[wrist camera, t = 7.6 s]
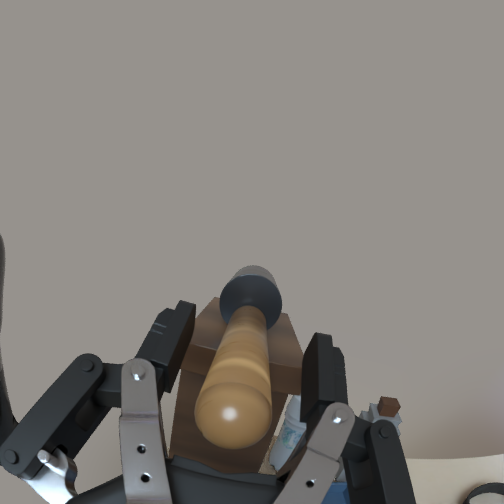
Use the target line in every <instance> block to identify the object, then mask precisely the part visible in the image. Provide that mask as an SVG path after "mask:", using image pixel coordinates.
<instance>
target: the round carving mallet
mask: <svg viewBox="0 0 504 504" xmlns="http://www.w3.org/2000/svg"><path fill="white" fill-rule="evenodd" d="M219 308H220V313H221V315H222V318H223V319H224V321H225V322H226V324H227V325H228V326H227V328H226V330H225V333H224V335H223V338H222V340H221V343H220V345H219V348H218V350H217V352H216V355H215V357H214V360H213V362H212V365H211V367H210V369H209V372H208V374H207V377H206V379H205V382H204V384H203V386H202V389H201V391H200V394H199V396H198V398H197V401H196V405H195V410H194V415H195V422H196V425H197V427H198V429H199V430H200V432H201V434H202V435H203V436H204V437H205V438H206V439H207V440H208V441H210V442H211V443H213V444H214V445H216V446H219V447H221V448H225V449H242V448H247V447H249V446H252V445H254V444H255V443H257V442H258V441H259V440H261V439H262V438H263V437H264V436H265V434H266V433H267V431H268V429H269V428H270V425H271V421H272V400H271V385H270V370H269V356H268V341H267V330H268V329H270V328H271V327H272V326H273V325H274V324H275V323H276V322H277V320H278V318H279V317H280V314H281V310H282V299H281V295H280V292H279V290H278V288H277V285H276V282H275V280H274V278H273V276H272V275H271V274H270V272H269V271H268V270H266V269H264V268H262V267H260V266H254V265H252V266H247V267H244V268H242V269H240V270H239V271H238V272H237V273H236V274H235V275H234V276H233V278H232V279H231V280H230V281H229V282H228V283H227V285H226V286H225V287H224V289H223V291H222V293H221V295H220V300H219Z"/></svg>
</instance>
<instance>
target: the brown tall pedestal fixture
mask: <svg viewBox="0 0 504 504" xmlns="http://www.w3.org/2000/svg"><path fill="white" fill-rule="evenodd" d="M219 300H220V298H217V297H214V298H213V300H212V301H211V302H210V303H209V304H208V305H207V306H206V307H205V309H204V310H203V311H202V312H201V313H200V314H199V315H198V317H197V318H196V319H195V327H194V332H193V336H192V339H191V341H190V344H189V346H188V349H187V351H186V354H185V357H184V359H183V362H182V364H181V367H180V369H181V375H180V381H179V387H178V393H177V400H176V406H175V413H174V420H173V427H172V434H171V442H170V450H169V458H173V455H174V454H175V455H178V456H181V457H185V458H188V459H192V460H195V461H199V462H201V463H203V464H205V465H207V466H209V467H211V468H213V469H216V470H218V471H220V472H222V473H249V472H253V473H258V471H259V469H260V467H261V464H262V462H263V460H264V457H265V455H266V452H267V450H268V447H269V445H270V442H271V440H272V437H273V435H274V432H275V429H276V427H277V424H278V422H279V418H280V415H281V413H282V410H283V408H284V405H285V402H286V400H287V397H288V394H291V395H298V396H300V394H301V380H302V360H303V356H304V355H303V352H302V350H301V347H300V345H299V342H298V340H297V337H296V335H295V332H294V329H293V327H292V324H291V322H290V319H289V317H288V314H285V313H281V314H280V317H279V318H278V320H277V322H276V323H275V324H274V325H273V326H272V327H271V328H270V329H268V330H267V341H268V356H269V370H270V385H271V400H272V421H271V425H270V428H269V429H268V431H267V433H266V434H265V436H264V437H263V438H262V439H261V440H259V441H258V442H257V443H255V444H254V445H252V446H249V447H247V448H242V449H225V448H221V447H219V446H216V445H214V444H213V443H211V442H210V441H208V440H207V439H206V438H205V437H204V436H203V435H202V434H201V432H200V430H199V429H198V427H197V425H196V422H195V415H194V410H195V405H196V401H197V398H198V396H199V394H200V391H201V389H202V386H203V384H204V382H205V379H206V377H207V374H208V372H209V369H210V367H211V365H212V362H213V360H214V357H215V355H216V352H217V350H218V348H219V345H220V343H221V340H222V338H223V335H224V333H225V330H226V328H227V326H228V325H227V324H226V322H225V321H224V319H223V318H222V315H221V313H220V308H219Z"/></svg>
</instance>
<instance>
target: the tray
mask: <svg viewBox="0 0 504 504" xmlns="http://www.w3.org/2000/svg"><path fill="white" fill-rule="evenodd" d="M321 504H350V499H349V493H348V488H347V482H332V484H331V486H330V488H329V490H328V492H327V493H326V495H325V497H324V499H323V501H322V503H321Z"/></svg>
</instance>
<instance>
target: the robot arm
mask: <svg viewBox="0 0 504 504" xmlns="http://www.w3.org/2000/svg"><path fill="white" fill-rule="evenodd" d="M4 274H5V247H4V242H3V239H2V236H1V235H0V331H1V325H2V303H3V286H4ZM195 314H196V304H193V303H189V302H186V301H182V300H180V301H179V303H178V305H177V306H176V309H175V310H172V309H169V308H166V309H165V310H164V311H162V312H161V313H159V315H158V316H157V318H156V320H155V322H154V324H153V325H152V327H151V329H150V331H149V332H148V334H147V336H146V338H145V340H144V342H143V344H142V346H141V347H140V349H139V351H138V353H137V355H136V356H135V358H134V359H131V360H129V361H127V362H126V363H124V364H110V363H102V361H101V359H100V358H99V357H97V356H96V355H94V354H82V355H80V356H79V357H77V358H76V359H75V360H74V361H73V362H72V363H71V364H70V366H69V367H68V368H67V369H66V370H65V371H64V372H63V373H62V374H61V376H59V378H58V379H57V380H56V381H55V382H54V383H53V384H52V385H51V386H50V388H49V389H48V390H47V391H46V392H45V393H44V394H43V396H42V397H41V398H40V399H39V400H38V402H36V404H35V405H34V406H33V407H32V408H31V409H30V411H29V412H28V413H27V414H26V415H25V417H24V418H23V419H22V420H21V422H20V423H19V424H18V425H17V426H16V424H17V421H16V419H15V417H14V416H13V414H12V410H11V406H10V402H9V397H8V392H7V388H6V383H5V377H4V371H3V364H2V357H1V349H0V462H1V464H2V466H3V467H4V469H5V470H7V471H8V472H9V473H11V474H13V475H15V476H17V477H18V478H20V479H22V480H24V481H26V482H27V483H28V484H29V485H30V486H31V487H32V488H33V489H34V490H35V491H36V492H37V493H38V494H39V495H40V496H41V497H43V498H44V499H45V500H46V501H47V502H48V503H50V504H321V503H322V501H323V499H324V497H325V495H326V493H327V492H328V490H329V488H330V486H331V484H332V482H333V480H334V478H335V476H336V474H337V472H338V470H339V467H340V462H339V457H340V456H341V457H342V460H343V466H344V471H345V476H346V482H347V488H348V493H349V499H350V504H416V501H415V497H414V492H413V488H412V484H411V480H410V476H409V472H408V468H407V464H406V460H405V457H404V453H403V450H402V446H401V443H400V439H399V436H398V433H397V430H396V427H395V426H394V424H393V423H392V422H390V421H388V420H385V419H380V420H377V421H376V422H374V423H372V422H369V421H367V420H364V419H361V418H359V417H357V416H356V415H355V414H354V412H353V410H352V409H351V408H350V407H349V405H348V398H347V384H346V376H345V374H346V373H345V368H344V367H345V363H344V356H343V354H342V352H341V350H340V349H339V348H337V347H333V344H332V336H331V335H327V334H322V333H317V332H316V333H315V334H314V335H313V337H312V339H311V341H310V343H309V345H308V347H307V349H306V351H305V353H304V356H303V360H302V380H301V402H300V421H299V422H301V423H306V430H305V431H304V433H303V434H302V436H301V438H300V440H299V441H298V443H297V445H296V446H295V448H294V450H293V451H292V453H291V454H290V456H289V458H288V459H287V461H286V462H285V464H284V465H283V466H282V467H281V468H280V470H279V471H278V472H277V473H276V475H268V474H260V473H253V472H249V473H222V472H220V471H218V470H216V469H213V468H211V467H209V466H207V465H205V464H203V463H201V462H199V461H195V460H192V459H188V458H185V457H181V456H178V455H175V454H174V455H173V458H168V453H167V447H166V443H165V436H164V429H163V421H162V413H161V404H160V400H161V398H162V395H163V393H164V392H167V393H171V390H172V387H173V385H174V382H175V380H176V377H177V374H178V372H179V369H180V367H181V364H182V362H183V359H184V357H185V354H186V351H187V349H188V346H189V344H190V341H191V339H192V336H193V332H194V327H195ZM112 407H117V408H121V411H122V412H121V416H120V417H119V436H120V451H121V462H122V472H123V474H122V475H120V476H118V477H116V478H114V479H112V480H110V481H108V482H106V483H104V484H101V485H99V486H97V487H95V488H93V489H90V490H88V491H86V492H83V493H81V494H79V495H78V494H77V492H76V490H75V487H74V482H75V479H76V477H77V466H76V464H75V462H74V461H73V459H74V458H75V457H76V455H77V454H78V452H79V451H80V450H81V448H82V447H83V446H84V444H85V443H86V442H87V440H88V439H89V438H90V436H91V434H92V433H93V432H94V431H95V429H96V428H97V427H98V425H99V424H100V423H101V421H102V420H103V419H104V417H105V416H106V415H107V413H108V412H109V411H110V409H111V408H112ZM14 420H15V421H14ZM15 422H16V424H15Z"/></svg>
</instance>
